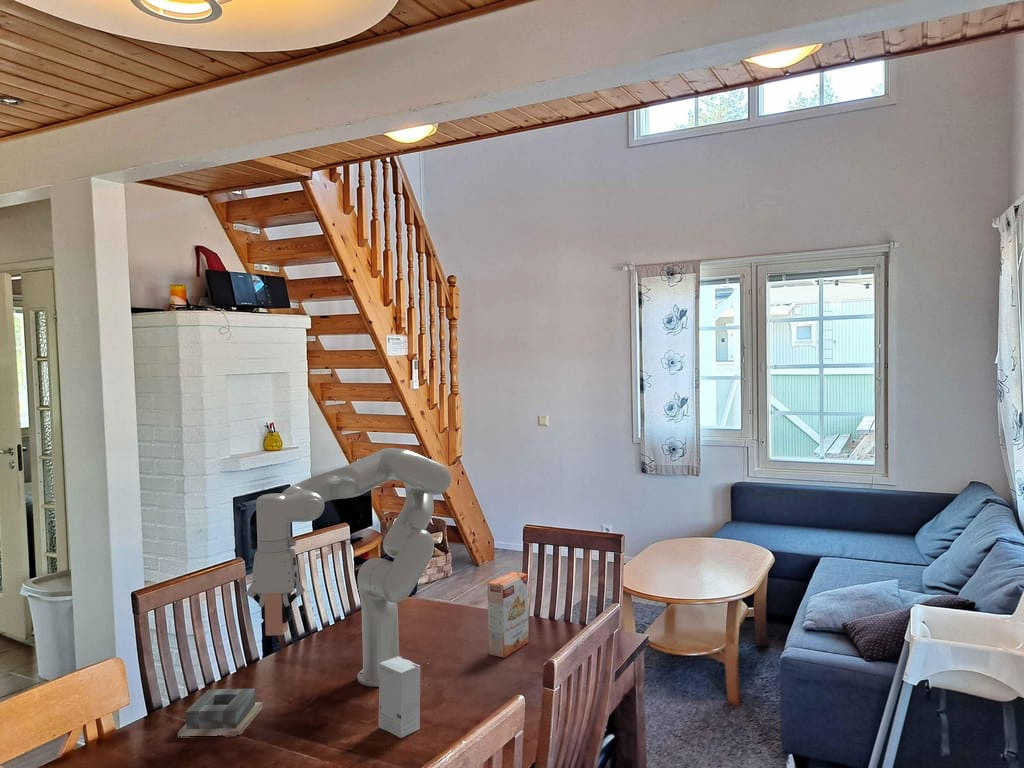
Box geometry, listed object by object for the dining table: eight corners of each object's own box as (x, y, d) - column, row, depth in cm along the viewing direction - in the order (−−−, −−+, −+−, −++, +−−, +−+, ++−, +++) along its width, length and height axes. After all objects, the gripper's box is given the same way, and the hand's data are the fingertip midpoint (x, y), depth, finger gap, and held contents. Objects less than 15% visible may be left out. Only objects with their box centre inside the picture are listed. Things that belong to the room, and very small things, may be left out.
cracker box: (505, 659, 195) (503, 585, 195) (487, 655, 198) (485, 582, 199) (530, 642, 207) (528, 573, 207) (513, 639, 210) (511, 570, 210)
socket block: (262, 707, 170) (262, 686, 170) (239, 736, 156) (238, 713, 156) (206, 708, 170) (205, 687, 170) (177, 737, 156) (177, 714, 156)
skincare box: (378, 728, 158) (376, 663, 158) (398, 718, 162) (396, 654, 162) (402, 739, 152) (400, 672, 152) (422, 728, 157) (421, 663, 157)
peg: (288, 629, 169) (286, 588, 169) (282, 635, 165) (281, 593, 165) (271, 629, 169) (270, 588, 169) (265, 635, 165) (264, 593, 165)
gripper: (313, 541, 170) (315, 615, 170) (245, 543, 171) (248, 617, 171) (303, 548, 163) (306, 626, 163) (233, 550, 163) (235, 628, 163)
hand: (276, 620), depth 167 cm, fingers closed on peg, 4 cm apart
